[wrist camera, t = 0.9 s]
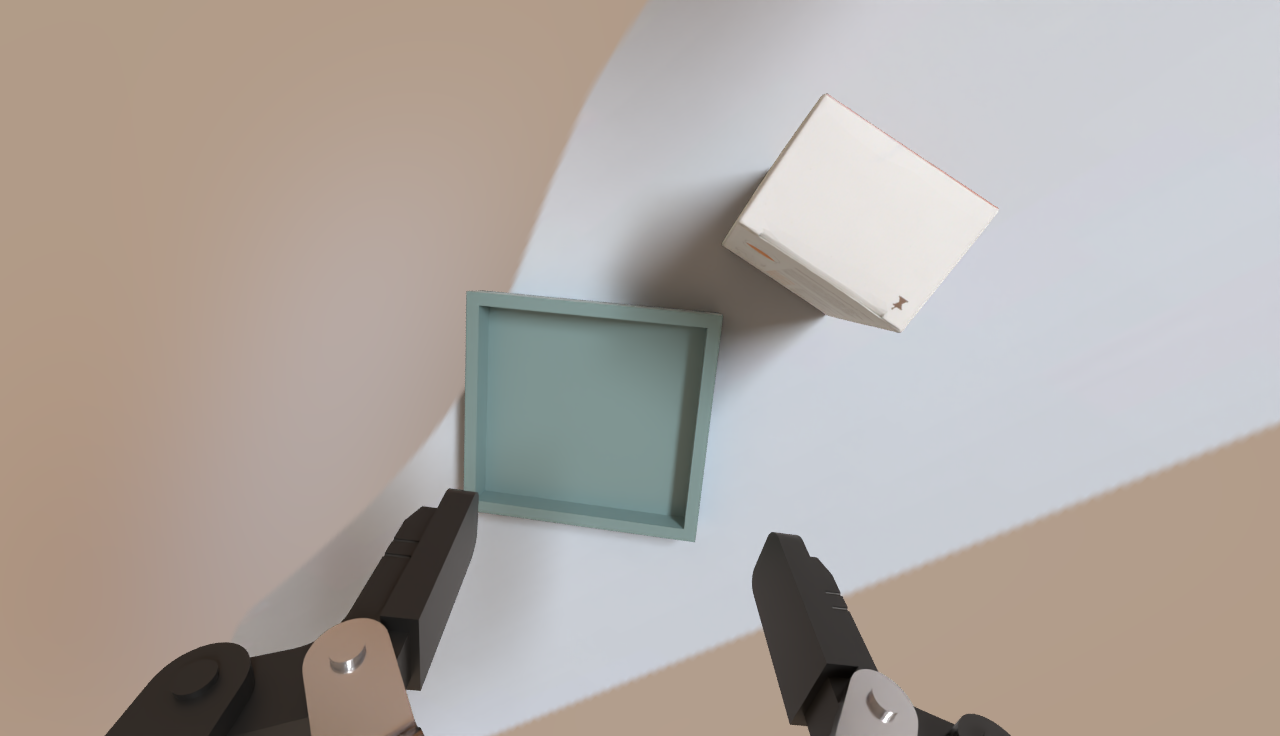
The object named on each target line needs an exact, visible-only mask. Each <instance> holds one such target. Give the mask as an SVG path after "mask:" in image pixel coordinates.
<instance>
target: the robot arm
mask: <svg viewBox="0 0 1280 736" xmlns="http://www.w3.org/2000/svg"><path fill="white" fill-rule="evenodd" d="M478 504H479V494H478V492H473V491H465V490H458V489H450V488H449V489H448V490H447V491H446V493H445V495H444V496H443V498H442V500H441V502H440V504H439V506H438V508H432V507H424V506H422V507H421V508H420V509H418V510H417V511H416V512H415V513H413V514H412V515H411V516H410V517H408V518H407V519H406V520H405V521H404V522H403V524H402V526H401V527H400V529H399V531H398V532H397V534H396V536H395V537H394V540H393V542H391V544H390V546H389V547H388V549H387V550H386V552H385V556H384V557H382V559H381V560H380V562H379V564H378V565H377V567H376V569H375V570H374V572H373V574H372V575H371V577H370V579H369V580H368V582H367V584H366V585H365V587H364V589H363V590H362V592H361V594H360V595H359V597H358V599H357V600H356V602H355V603H354V605H353V607H352V608H351V610H350V612H349V613H348V615H347V616H346V618H345V619H344V620H343V621H342V622H341V623H340V624H337V625H335V626H333V627H332V628H330V629H329V630H327V631H326V632H325V633H323V634H322V635H321V636H320V637H319V638H318V639H317V640H316V641H314V642H312V643H310V644H308V645H305V646H302V647H298V648H295V649H290V650H285V651H280V652H275V653H270V654H265V655H260V656H255V657H249V654H248V652H247V651H246V650H245V649H244V648H243V647H242V646H240V645H237V644H234V643H227V642H225V643H215V644H209V645H206V646H202V647H199V648H197V649H195V650H192V651H190V652H188V653H186V654H184V655H182V656H180V657H179V658H177V659H175V660H174V661H172V662H171V663H170V664H168V665H167V666H166V667H164V668H163V669H162V670H161V671H160V672H159V673H158V674H157V675H156V676H155V677H154V678H153V679H152V680H151V681H150V682H149V683H148V685H147V686H146V687H145V688H144V689H143V691H142V692H141V693H140V694H139V695H138V697H137V698H136V699H135V700H134V701H133V703H132V704H131V705H130V706H129V707H128V709H127V710H126V711H125V712H124V713H123V715H122V716H121V717H120V718H119V720H118V721H117V722H116V723H115V724H114V726H113V727H112V728H111V729H110V730H109V731H108V733H107V734H106V735H105V736H424V734H423V732H422V730H421V728H420V727H417V725H416V722H415V720H414V716H413V713H412V710H411V707H410V703H409V700H408V697H407V693H406V689H407V690H418V691H421V688H422V686H423V683H424V681H425V678H426V675H427V673H428V670H429V668H430V665H431V662H432V660H433V657H434V655H435V652H436V649H437V647H438V644H439V642H440V639H441V636H442V634H443V631H444V629H445V626H446V623H447V621H448V618H449V616H450V613H451V610H452V608H453V605H454V603H455V600H456V597H457V595H458V592H459V590H460V587H461V584H462V582H463V579H464V577H465V574H466V571H467V569H468V566H469V564H470V561H471V558H472V555H473V552H474V548H475V543H476V537H477V523H478ZM752 589H753V594H754V598H755V601H756V605H757V609H758V612H759V616H760V619H761V623H762V626H763V630H764V634H765V637H766V640H767V644H768V648H769V651H770V655H771V659H772V662H773V665H774V669H775V673H776V676H777V680H778V683H779V687H780V690H781V694H782V698H783V701H784V704H785V708H786V712H787V716H788V719H789V723H790V725H801V726H808V729H809V732H810V736H1010V735H1009V734H1008V733H1007V732H1006V731H1005V730H1004V729H1002V728H1001V727H1000V726H999V725H997V724H996V723H994V722H993V721H991V720H989V719H987V718H985V717H983V716H980V715H976V714H966V715H964V716H962V717H961V718H960V719H959V721H958V722H957V723H956V724H955V725H954V724H952V723H950V722H948V721H945V720H943V719H941V718H938V717H936V716H934V715H931V714H929V713H927V712H925V711H922V710H920V709H918V708H916V707H914V706H913V704H912V703H911V701H910V699H909V698H908V696H907V695H906V694H905V693H904V691H903V690H902V689H901V688H900V687H899V686H898V685H897V684H896V683H895V682H894V681H892V680H891V679H889V678H888V677H887V676H885V675H883V674H881V673H879V672H878V670H877V668H876V666H875V664H874V662H873V660H872V658H871V656H870V654H869V651H868V649H867V647H866V645H865V643H864V641H863V639H862V637H861V635H860V633H859V631H858V628H857V626H856V624H855V622H854V620H853V618H852V616H851V614H850V612H849V611H848V610H847V605H846V603H845V601H844V599H843V597H842V596H840V591H839V589H838V587H837V584H836V582H835V580H834V578H833V576H832V574H831V573H830V572H829V571H828V570H827V568H826V567H825V566H824V565H823V564H822V563H821V562H820V560H819V559H818V558H816V557H810V556H809V553H808V551H807V549H806V547H805V544H804V542H803V540H802V539H801V537H800V536H798V535H791V534H783V533H776V532H772V533H770V534H769V535H768V537H767V540H766V542H765V544H764V547H763V549H762V551H761V554H760V556H759V559H758V561H757V563H756V566H755V568H754V571H753V576H752Z"/></svg>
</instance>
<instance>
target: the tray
mask: <svg viewBox="0 0 1280 736" xmlns="http://www.w3.org/2000/svg"><path fill="white" fill-rule="evenodd" d="M466 300H467V301H466V369H465V372H466V373H465V438H464V490H465V491H473V492H478V494H479V504H478V512H483V513H490V514H497V515H504V516H512V517H519V518H526V519H533V520H540V521H547V522H554V523H561V524H569V525H576V526H583V527H590V528H597V529H604V530H611V531H618V532H625V533H633V534H640V535H647V536H654V537H661V538H668V539H675V540H682V541H690V542H695V539H696V531H697V522H698V514H699V506H700V498H701V490H702V482H703V474H704V466H705V458H706V450H707V442H708V433H709V425H710V417H711V409H712V401H713V393H714V385H715V377H716V369H717V361H718V353H719V344H720V336H721V328H722V320H723V315H722V314H721V313H712V312H702V311H691V310H681V309H670V308H660V307H649V306H639V305H628V304H618V303H607V302H597V301H586V300H576V299H565V298H555V297H544V296H534V295H523V294H513V293H503V292H492V291H467V295H466Z"/></svg>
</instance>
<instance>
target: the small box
mask: <svg viewBox="0 0 1280 736" xmlns="http://www.w3.org/2000/svg"><path fill="white" fill-rule="evenodd" d="M998 211H999V208H997V207H996V206H994V205H992V204H991V203H989V202H988V201H986V200H985V199H984V198H982V197H981V196H979V195H978V194H976V193H975V192H973V191H972V190H970V189H969V188H967V187H966V186H964V185H963V184H961V183H960V182H958V181H957V180H955V179H954V178H952V177H951V176H949V175H948V174H946V173H945V172H943V171H942V170H940V169H939V168H937V167H936V166H934V165H933V164H931V163H930V162H928V161H926V160H925V159H923V158H922V157H920V156H919V155H918V154H916V153H915V152H913V151H912V150H910V149H908V148H907V147H906V146H904V145H903V144H901V143H900V142H898V141H896V140H895V139H894V138H892V137H891V136H889V135H888V134H886V133H885V132H883V131H882V130H880V129H879V128H877V127H875V126H874V125H873V124H871V123H870V122H868V121H867V120H865V119H864V118H862V117H861V116H859V115H858V114H856V113H855V112H853V111H852V110H851V109H849V108H848V107H846V106H845V105H843V104H842V103H840V102H839V101H837V100H835V99H834V98H833V97H831V96H830V95H829V94H827V93H826V94H824V95H822V96H821V97H820V99H819V100H818V102H817V103H816V104H815V106H814V107H813V108H812V110H811V111H810V113H809V114H808V115H807V117H806V118H805V120H804V121H803V122H802V124H801V125H800V127H799V128H798V129H797V131H796V132H795V134H794V135H793V136H792V138H791V139H790V141H789V142H788V144H787V145H786V146H785V148H784V149H783V151H782V152H781V154H780V155H779V157H778V158H777V160H776V161H775V162H774V164H773V165H772V167H771V168H770V170H769V171H768V173H767V174H766V176H765V177H764V179H763V180H762V182H761V183H760V185H759V186H758V188H757V189H756V191H755V192H754V194H753V196H752V197H751V199H750V200H749V202H748V203H747V205H746V206H745V208H744V209H743V211H742V212H741V214H740V215H739V217H738V219H737V220H736V222H735V223H734V225H733V226H732V228H731V229H730V231H729V233H728V234H727V236H726V237H725V239H724V240H723V242H722V245H723V246H724V247H725V248H727V249H729V250H730V251H732V252H733V253H735V254H736V255H738V256H739V257H741V258H742V259H744V260H745V261H747V262H748V263H750V264H751V265H753V266H754V267H756V268H757V269H759V270H760V271H762V272H763V273H765V274H766V275H768V276H769V277H771V278H772V279H774V280H775V281H777V282H778V283H780V284H781V285H783V286H784V287H786V288H787V289H789V290H790V291H792V292H793V293H795V294H796V295H798V296H799V297H801V298H802V299H804V300H805V301H807V302H808V303H810V304H811V305H813V306H814V307H816V308H817V309H819V310H820V311H821V312H823V313H824V314H826V315H828V316H832V317H835V318H839V319H844V320H847V321H852V322H856V323H860V324H864V325H869V326H873V327H877V328H881V329H886V330H890V331H894V332H897V333H901V332H902V331H903V330H904V329H905V327H906V326H907V325H908V324H909V322H910V321H911V320H912V319H913V317H914V316H915V315H916V314H917V312H918V311H919V310H920V309H921V308H922V306H923V305H924V304H925V302H926V301H927V300H928V299H929V298H930V296H931V295H932V294H933V293H934V291H935V290H936V289H937V288H938V286H939V285H940V284H941V283H942V282H943V280H944V279H945V278H946V277H947V275H948V274H949V273H950V271H951V270H952V269H953V268H954V266H955V265H956V264H957V263H958V262H959V260H960V259H961V258H962V257H963V255H964V254H965V253H966V252H967V250H968V249H969V248H970V247H971V246H972V244H973V243H974V242H975V241H976V239H977V238H978V237H979V235H980V234H981V233H982V232H983V230H984V229H985V228H986V227H987V225H988V224H989V223H990V221H991V220H992V219H993V218H994V216H995V215H996V214H997V213H998Z"/></svg>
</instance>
